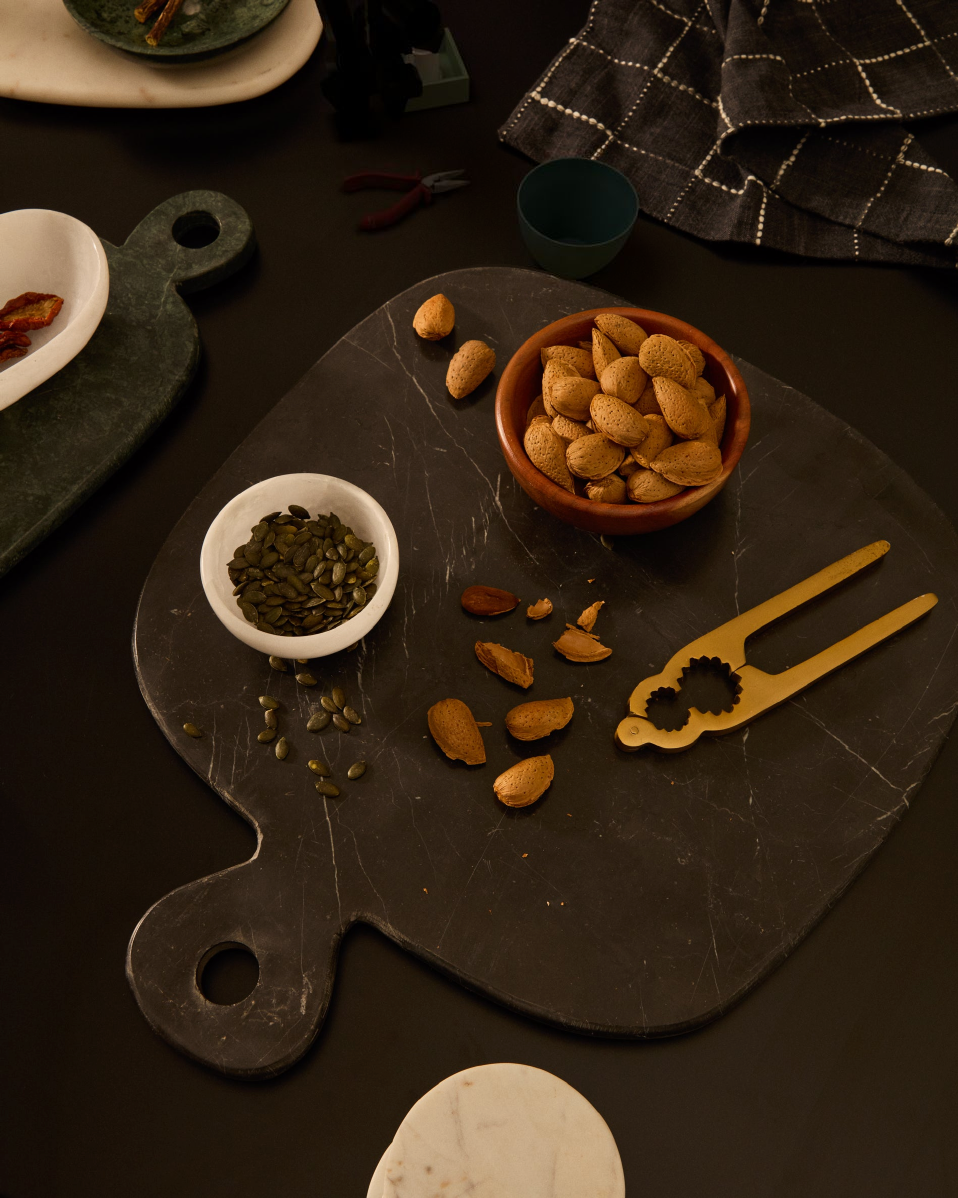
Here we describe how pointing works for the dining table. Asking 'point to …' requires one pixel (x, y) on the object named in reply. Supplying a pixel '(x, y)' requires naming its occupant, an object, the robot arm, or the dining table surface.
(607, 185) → the dark teal bowl
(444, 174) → the pliers
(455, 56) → the bin
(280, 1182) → the dining table surface
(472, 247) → the dining table surface
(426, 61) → the downlight
